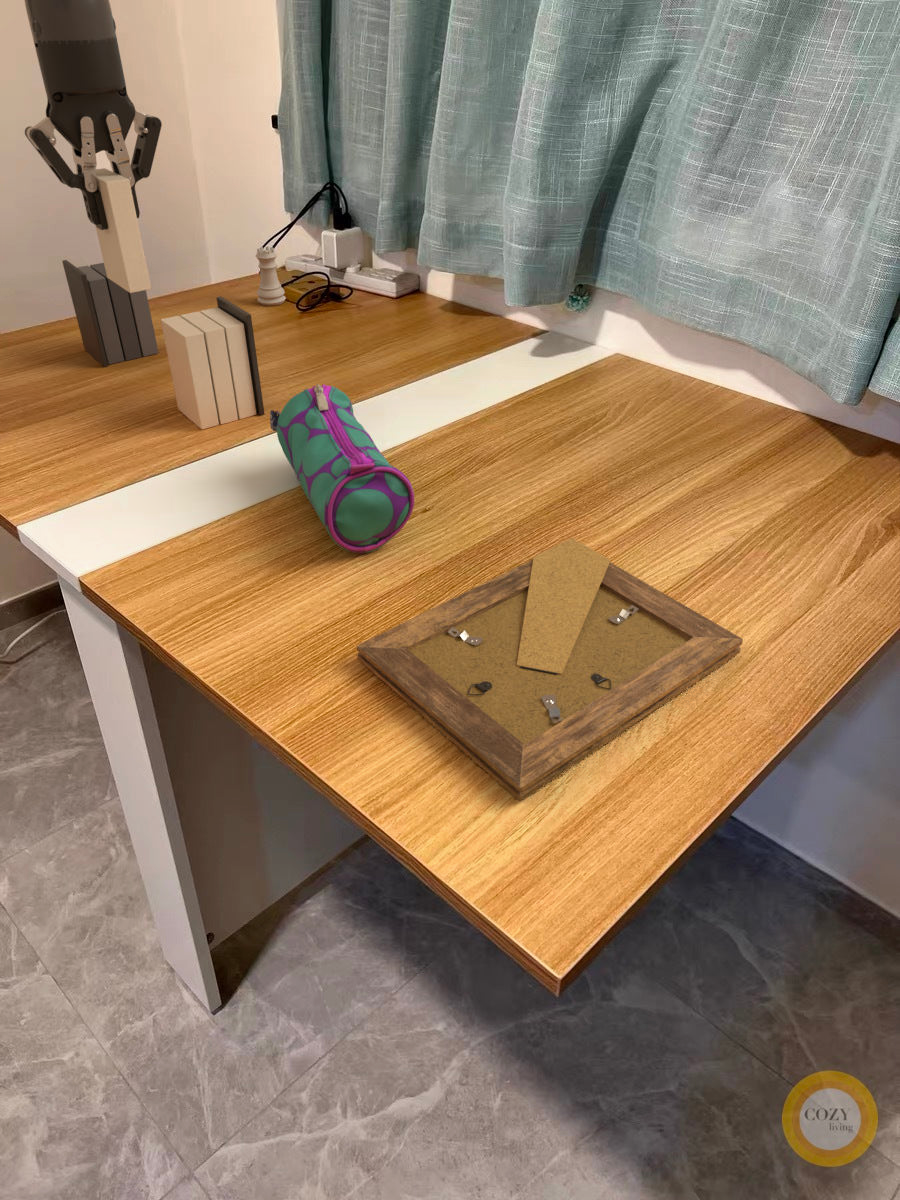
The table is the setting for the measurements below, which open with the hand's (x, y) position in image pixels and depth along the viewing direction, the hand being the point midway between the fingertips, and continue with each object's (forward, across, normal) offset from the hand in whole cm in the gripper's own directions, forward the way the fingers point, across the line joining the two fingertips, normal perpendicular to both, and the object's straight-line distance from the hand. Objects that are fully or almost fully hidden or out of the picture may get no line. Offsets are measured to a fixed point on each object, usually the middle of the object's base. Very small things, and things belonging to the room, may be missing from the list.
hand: (115, 225), depth 94 cm
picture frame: (+21, -7, +63) cm, 67 cm away
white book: (+6, 0, 0) cm, 6 cm away
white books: (+21, -6, +5) cm, 22 cm away
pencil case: (+21, -6, +33) cm, 40 cm away
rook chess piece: (+21, -30, -28) cm, 46 cm away
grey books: (+21, -4, -21) cm, 30 cm away
